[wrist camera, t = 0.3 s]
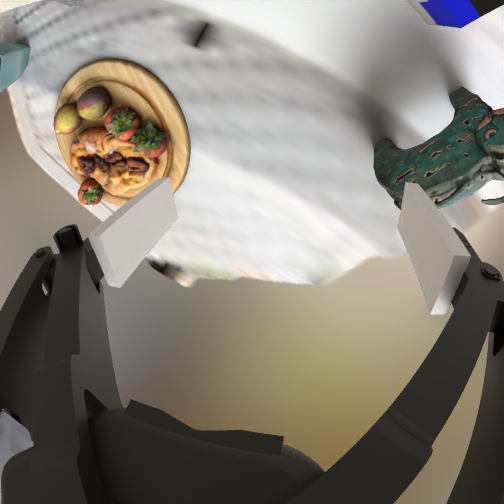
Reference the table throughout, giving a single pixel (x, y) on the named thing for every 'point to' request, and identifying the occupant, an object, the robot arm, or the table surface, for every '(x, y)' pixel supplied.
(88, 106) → the wooden plate with food
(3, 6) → the cream block
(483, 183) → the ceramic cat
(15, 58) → the flower pot
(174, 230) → the table surface
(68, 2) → the grey chute
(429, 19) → the puzzle toy
